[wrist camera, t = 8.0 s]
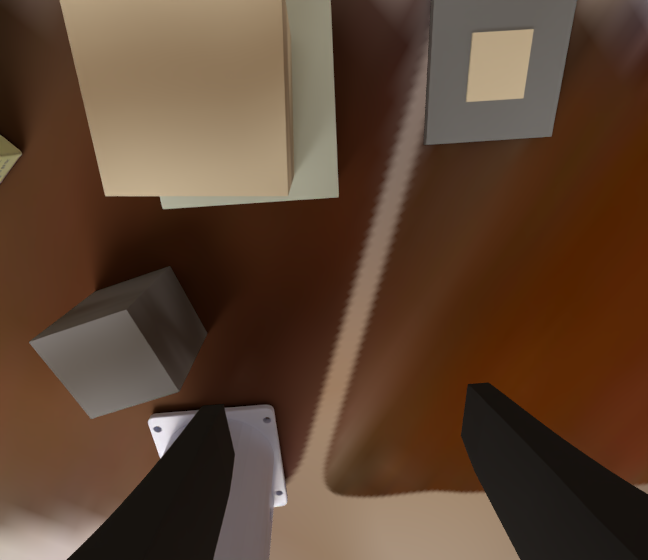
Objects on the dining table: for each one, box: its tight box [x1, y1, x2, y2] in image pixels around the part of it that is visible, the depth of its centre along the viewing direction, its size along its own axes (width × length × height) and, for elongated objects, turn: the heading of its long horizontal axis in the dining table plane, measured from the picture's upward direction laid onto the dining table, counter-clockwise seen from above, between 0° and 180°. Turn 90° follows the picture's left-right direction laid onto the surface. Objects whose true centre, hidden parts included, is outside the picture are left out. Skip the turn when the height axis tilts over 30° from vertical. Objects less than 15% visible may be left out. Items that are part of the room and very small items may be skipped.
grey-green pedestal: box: [160, 0, 339, 209], centre depth 14 cm, size 7×7×4 cm
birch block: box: [60, 0, 294, 196], centre depth 10 cm, size 4×4×5 cm
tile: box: [424, 0, 577, 145], centre depth 15 cm, size 6×6×1 cm
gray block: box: [29, 266, 208, 419], centre depth 17 cm, size 4×4×5 cm
